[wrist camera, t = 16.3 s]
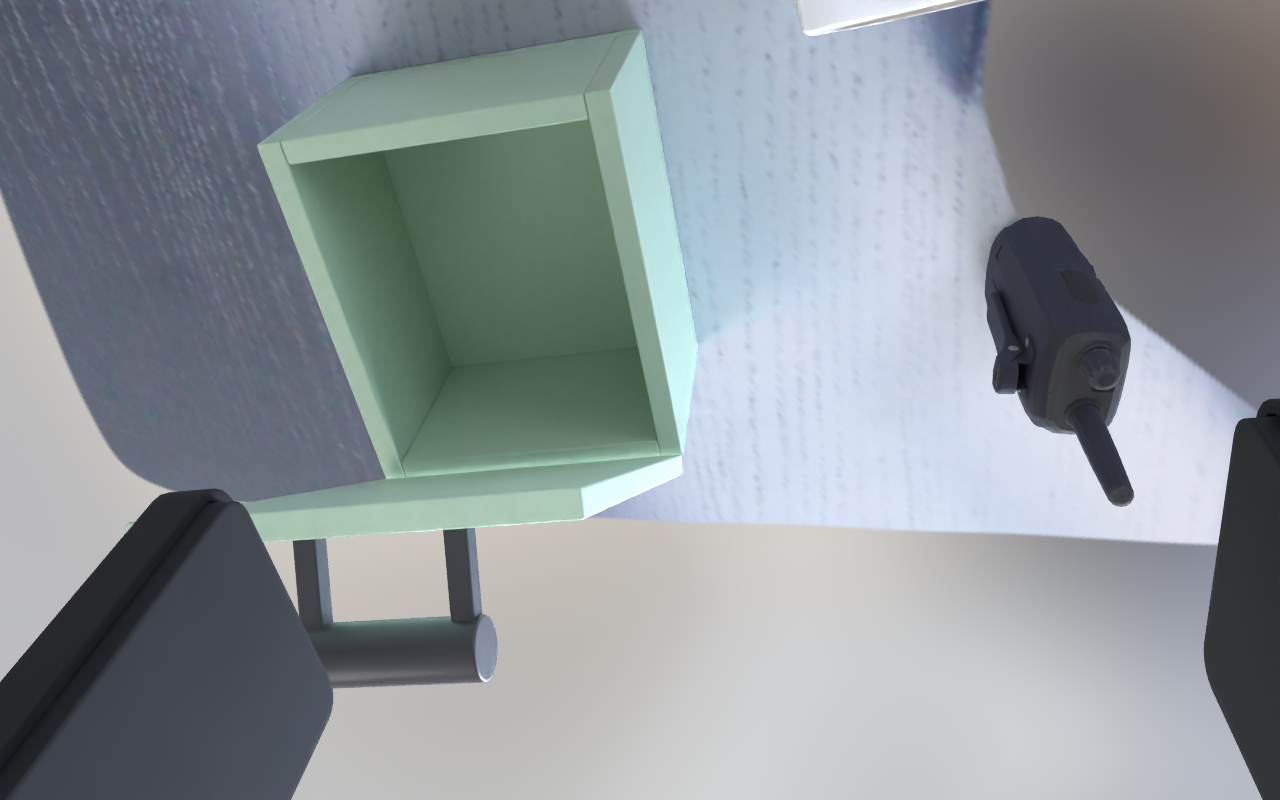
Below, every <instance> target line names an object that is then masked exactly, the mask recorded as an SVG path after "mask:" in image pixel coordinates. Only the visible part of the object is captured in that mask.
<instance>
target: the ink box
mask: <svg viewBox="0 0 1280 800" xmlns="http://www.w3.org/2000/svg"><path fill="white" fill-rule="evenodd" d="M980 1H984V0H796V5H797V10H798V14H799V18H800V22H801V26H802V30H803V31H804V33H805V34H806V35H809V36H817V35H821V34H826V33H832V32H837V31H844V30H850V29H855V28H860V27H865V26H871V25H876V24H880V23H885V22H889V21H894V20H899V19H904V18H909V17H913V16H918V15H922V14H927V13H931V12H936V11H940V10H945V9H950V8H954V7H958V6H963V5H967V4H971V3H976V2H980Z"/></svg>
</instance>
